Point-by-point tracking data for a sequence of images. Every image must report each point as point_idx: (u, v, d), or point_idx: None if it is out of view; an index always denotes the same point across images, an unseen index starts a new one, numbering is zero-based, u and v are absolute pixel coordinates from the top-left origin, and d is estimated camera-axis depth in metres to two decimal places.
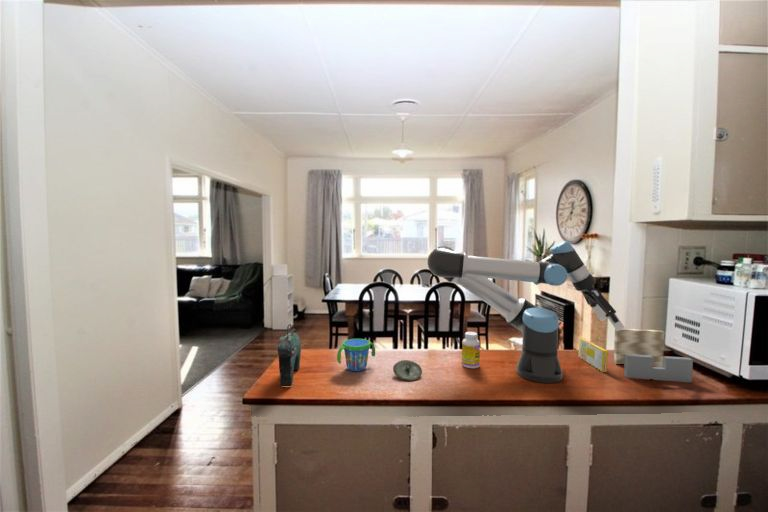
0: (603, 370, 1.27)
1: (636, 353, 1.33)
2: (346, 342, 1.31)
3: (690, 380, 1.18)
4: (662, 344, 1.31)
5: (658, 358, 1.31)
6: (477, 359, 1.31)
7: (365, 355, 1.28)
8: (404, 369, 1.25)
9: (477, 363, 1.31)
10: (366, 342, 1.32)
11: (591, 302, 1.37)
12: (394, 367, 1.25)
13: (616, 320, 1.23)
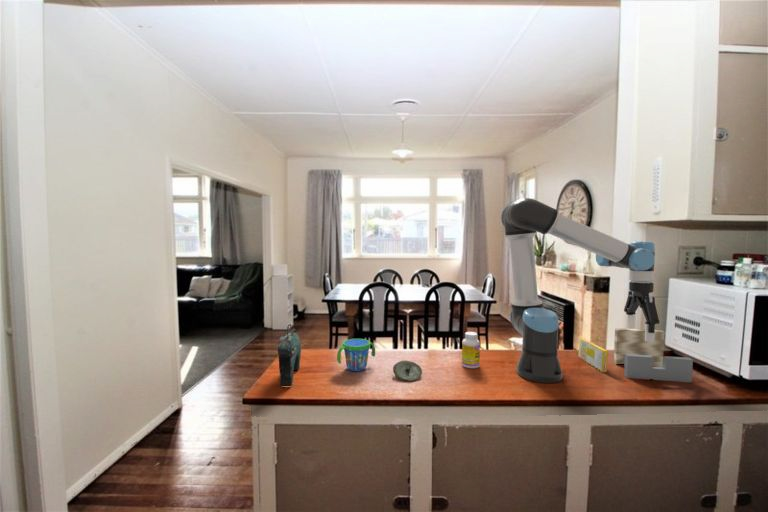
0: (603, 370, 1.27)
1: (636, 353, 1.33)
2: (346, 342, 1.31)
3: (690, 380, 1.18)
4: (662, 344, 1.31)
5: (658, 358, 1.31)
6: (477, 359, 1.31)
7: (365, 355, 1.28)
8: (404, 369, 1.25)
9: (477, 363, 1.31)
10: (366, 342, 1.32)
11: (631, 309, 1.38)
12: (394, 367, 1.24)
13: (653, 331, 1.24)
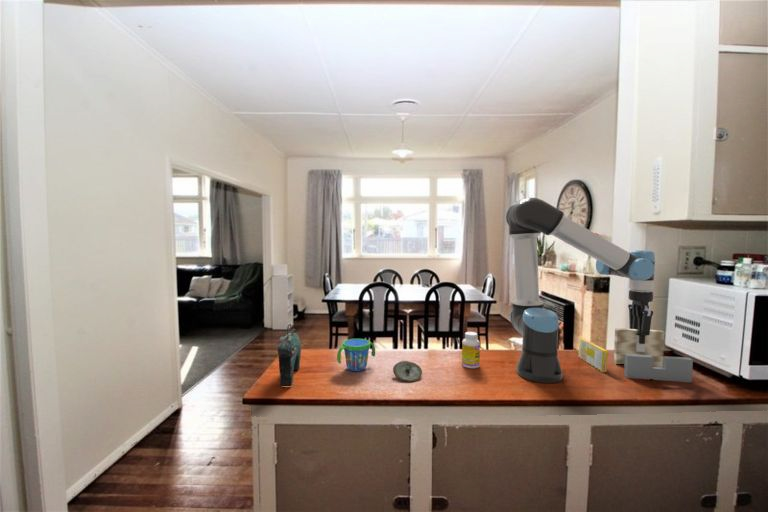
0: (603, 370, 1.27)
1: (636, 353, 1.33)
2: (346, 342, 1.31)
3: (690, 380, 1.18)
4: (662, 344, 1.31)
5: (658, 358, 1.31)
6: (477, 359, 1.31)
7: (365, 355, 1.28)
8: (404, 369, 1.24)
9: (477, 363, 1.31)
10: (366, 342, 1.32)
11: (635, 323, 1.34)
12: (394, 368, 1.24)
13: (643, 342, 1.30)
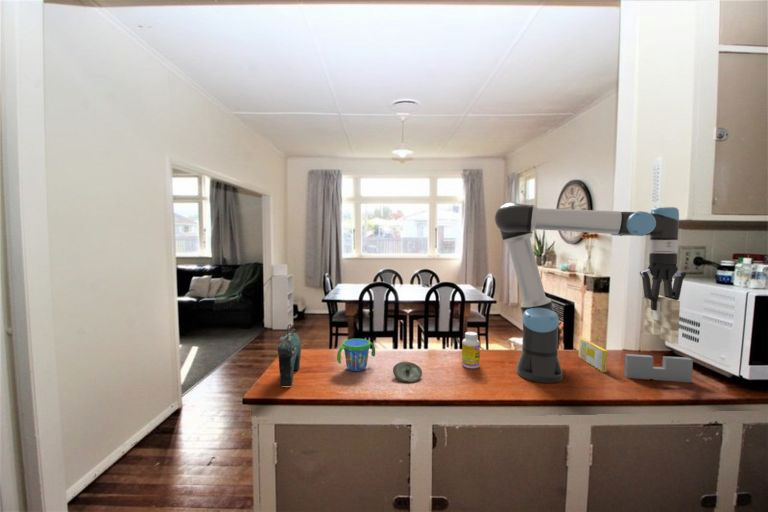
0: (603, 370, 1.27)
1: (655, 321, 1.21)
2: (346, 342, 1.31)
3: (690, 380, 1.18)
4: (671, 315, 1.12)
5: (668, 331, 1.13)
6: (477, 359, 1.31)
7: (365, 355, 1.28)
8: (404, 370, 1.24)
9: (477, 363, 1.31)
10: (366, 342, 1.32)
11: (665, 290, 1.19)
12: (394, 369, 1.23)
13: (652, 307, 1.20)
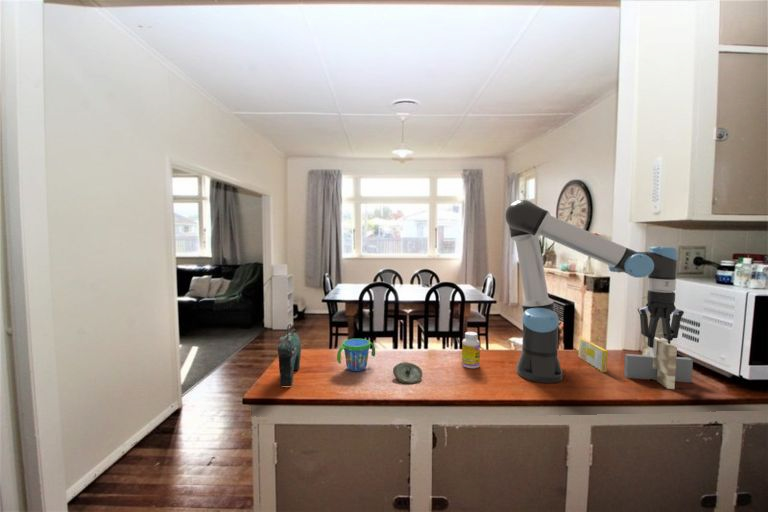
0: (603, 370, 1.27)
1: None
2: (346, 342, 1.31)
3: (690, 380, 1.18)
4: (668, 361, 1.13)
5: (665, 376, 1.15)
6: (477, 359, 1.31)
7: (365, 355, 1.28)
8: (404, 371, 1.23)
9: (477, 363, 1.31)
10: (366, 342, 1.32)
11: (663, 328, 1.20)
12: (394, 369, 1.22)
13: (648, 344, 1.21)
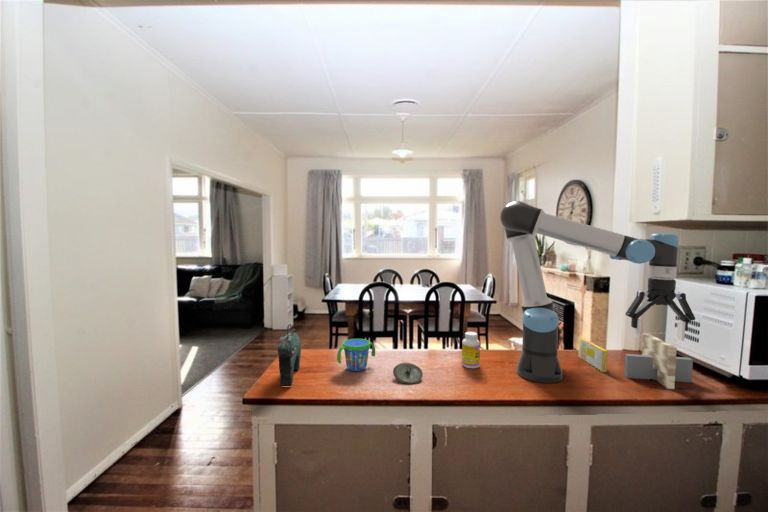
0: (603, 370, 1.27)
1: None
2: (346, 342, 1.31)
3: (690, 380, 1.18)
4: (668, 361, 1.13)
5: (665, 376, 1.15)
6: (477, 359, 1.31)
7: (365, 355, 1.28)
8: (404, 371, 1.23)
9: (477, 363, 1.31)
10: (366, 342, 1.32)
11: None
12: (394, 370, 1.22)
13: (632, 325, 1.21)
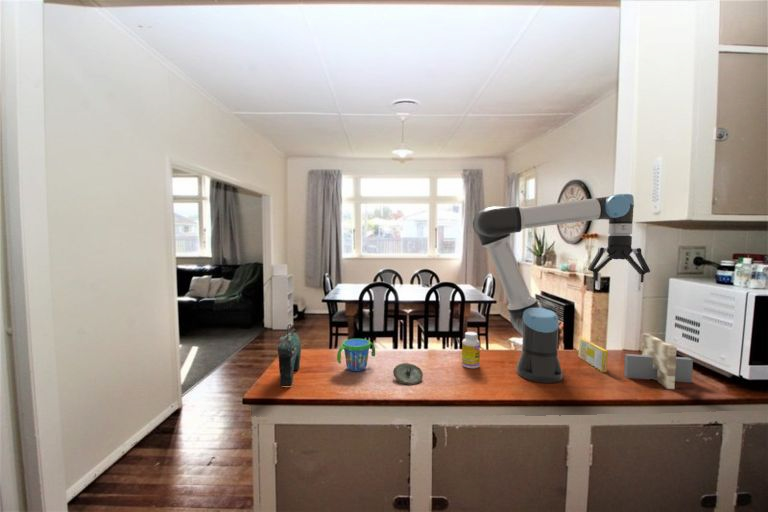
0: (603, 370, 1.27)
1: None
2: (346, 342, 1.31)
3: (690, 380, 1.18)
4: (668, 361, 1.13)
5: (665, 376, 1.15)
6: (477, 359, 1.31)
7: (365, 355, 1.28)
8: (404, 372, 1.22)
9: (477, 363, 1.31)
10: (366, 342, 1.32)
11: (633, 266, 1.31)
12: (394, 370, 1.22)
13: (593, 278, 1.34)
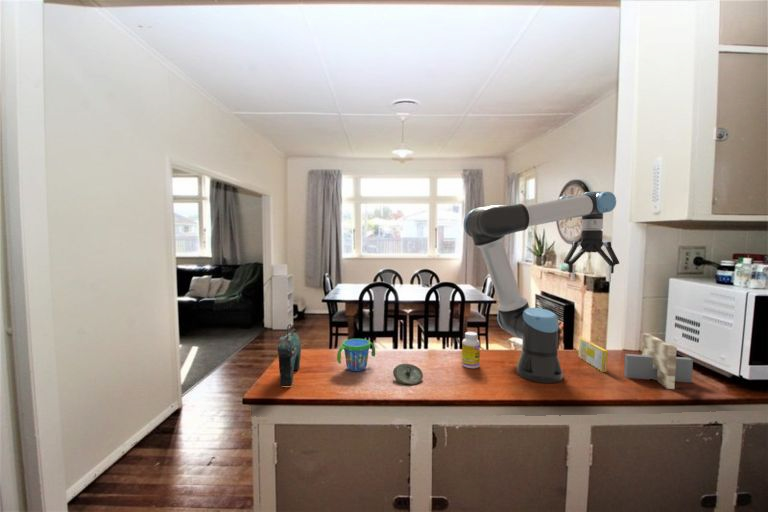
0: (603, 370, 1.27)
1: None
2: (346, 342, 1.31)
3: (690, 380, 1.18)
4: (668, 361, 1.13)
5: (665, 376, 1.15)
6: (477, 359, 1.31)
7: (365, 355, 1.28)
8: (404, 372, 1.22)
9: (477, 363, 1.31)
10: (366, 342, 1.32)
11: (604, 259, 1.42)
12: (394, 371, 1.21)
13: (569, 270, 1.44)
